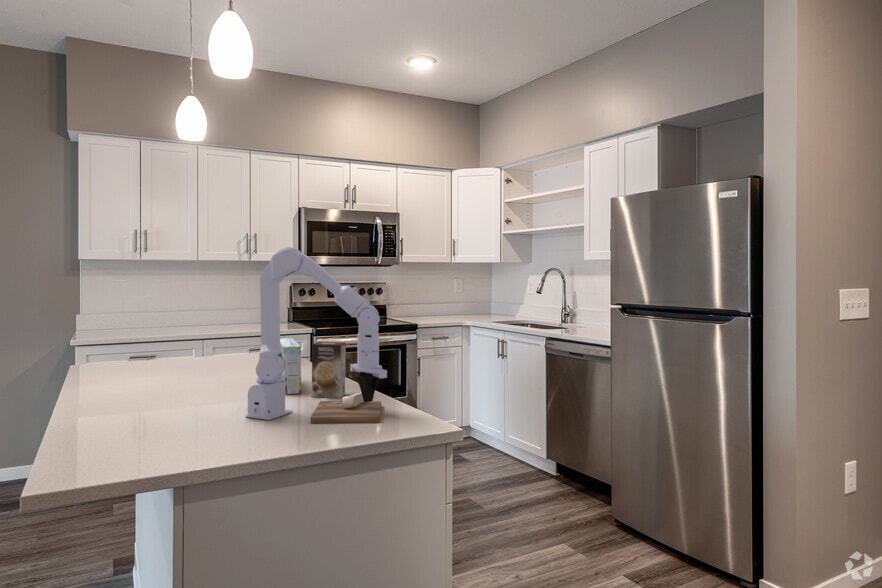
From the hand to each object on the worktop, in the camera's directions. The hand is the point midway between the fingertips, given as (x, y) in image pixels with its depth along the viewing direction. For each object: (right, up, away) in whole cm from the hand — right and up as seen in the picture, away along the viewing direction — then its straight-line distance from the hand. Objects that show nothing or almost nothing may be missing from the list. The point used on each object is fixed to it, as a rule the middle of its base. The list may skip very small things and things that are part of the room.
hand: (368, 401), depth 158 cm
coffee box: (-14, -2, +21) cm, 25 cm away
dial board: (-5, -3, -2) cm, 6 cm away
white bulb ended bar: (-3, -1, +1) cm, 4 cm away
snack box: (-29, -2, +31) cm, 43 cm away
